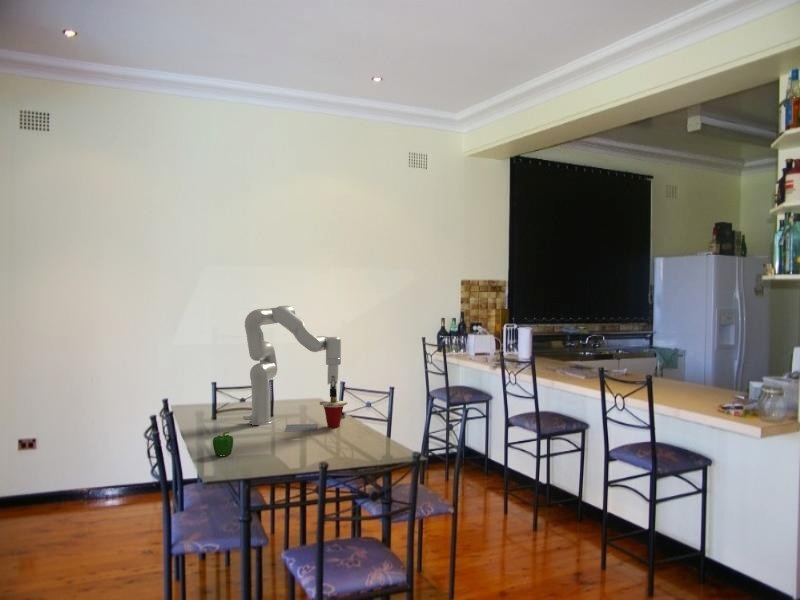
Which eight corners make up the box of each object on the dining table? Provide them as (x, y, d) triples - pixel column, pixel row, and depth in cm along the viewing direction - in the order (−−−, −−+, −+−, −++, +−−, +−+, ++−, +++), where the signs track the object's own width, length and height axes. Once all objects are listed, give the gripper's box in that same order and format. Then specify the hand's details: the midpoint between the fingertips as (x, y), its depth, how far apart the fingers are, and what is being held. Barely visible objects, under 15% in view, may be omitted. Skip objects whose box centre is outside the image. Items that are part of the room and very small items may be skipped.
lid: (319, 405, 299) (319, 391, 299) (320, 402, 313) (320, 389, 313) (347, 405, 300) (347, 391, 301) (347, 402, 314) (347, 389, 315)
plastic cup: (346, 425, 312) (346, 402, 311) (342, 430, 301) (342, 406, 301) (325, 425, 313) (325, 402, 312) (320, 430, 302) (320, 406, 302)
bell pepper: (212, 458, 251) (212, 434, 251) (213, 453, 259) (212, 430, 259) (233, 457, 254) (233, 433, 254) (233, 452, 262) (233, 429, 261)
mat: (284, 433, 295) (284, 431, 295) (287, 425, 311) (287, 424, 311) (317, 432, 297) (317, 431, 297) (318, 425, 313) (318, 423, 313)
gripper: (326, 359, 314) (326, 392, 315) (325, 363, 297) (325, 398, 297) (340, 359, 315) (340, 392, 315) (340, 363, 298) (340, 398, 298)
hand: (333, 395), depth 306 cm, fingers open, 9 cm apart
